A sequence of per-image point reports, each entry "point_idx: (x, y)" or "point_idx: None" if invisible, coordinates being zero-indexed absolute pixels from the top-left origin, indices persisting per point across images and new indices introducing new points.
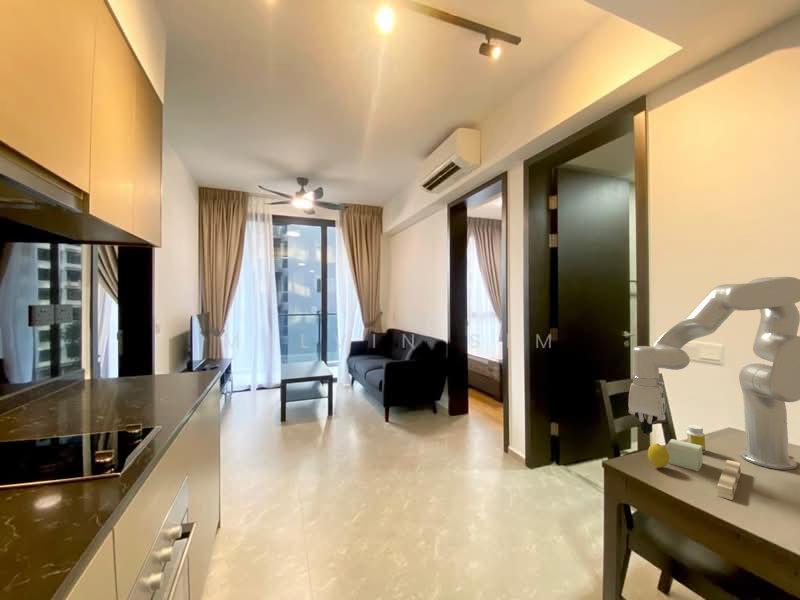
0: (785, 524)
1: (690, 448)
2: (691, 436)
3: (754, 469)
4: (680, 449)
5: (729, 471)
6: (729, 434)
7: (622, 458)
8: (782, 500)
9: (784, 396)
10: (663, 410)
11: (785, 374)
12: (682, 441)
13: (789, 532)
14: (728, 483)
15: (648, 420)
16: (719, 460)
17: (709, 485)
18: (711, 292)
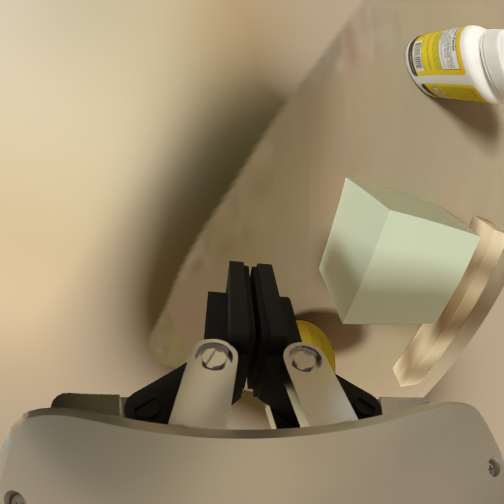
0: (439, 375)
1: (432, 298)
2: (470, 90)
3: None
4: (392, 321)
5: (462, 311)
6: None
7: (167, 318)
8: (482, 312)
9: None
10: (484, 424)
11: None
12: (431, 225)
13: (431, 387)
14: (426, 367)
15: (276, 420)
16: (475, 147)
17: (396, 340)
18: None
